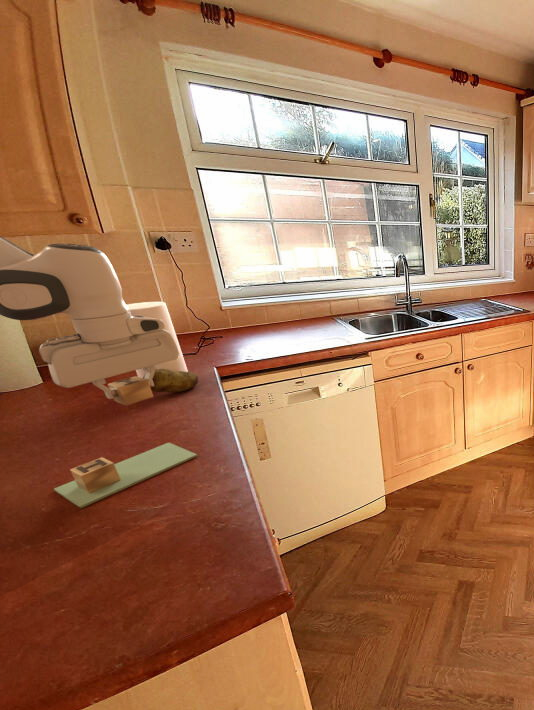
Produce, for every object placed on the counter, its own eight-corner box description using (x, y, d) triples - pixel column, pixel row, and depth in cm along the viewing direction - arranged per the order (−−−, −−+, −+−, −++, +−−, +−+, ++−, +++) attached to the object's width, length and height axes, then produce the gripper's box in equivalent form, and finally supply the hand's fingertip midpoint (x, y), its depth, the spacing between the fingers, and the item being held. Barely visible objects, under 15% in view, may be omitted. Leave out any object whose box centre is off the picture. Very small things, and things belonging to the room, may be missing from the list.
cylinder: (189, 372, 145) (165, 299, 136) (190, 383, 136) (164, 305, 126) (143, 381, 138) (114, 305, 129) (140, 392, 129) (109, 311, 119)
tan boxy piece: (125, 405, 87) (118, 387, 86) (114, 401, 89) (107, 383, 88) (153, 396, 91) (147, 379, 90) (142, 392, 93) (135, 375, 92)
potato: (202, 390, 130) (194, 365, 127) (149, 401, 122) (139, 376, 119) (199, 382, 136) (192, 359, 133) (148, 393, 128) (139, 368, 125)
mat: (80, 508, 78) (79, 506, 77) (54, 490, 83) (53, 488, 83) (197, 456, 94) (197, 454, 94) (169, 444, 99) (168, 442, 99)
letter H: (89, 493, 81) (80, 475, 79) (77, 486, 83) (69, 468, 82) (121, 479, 85) (113, 462, 83) (109, 473, 87) (101, 456, 86)
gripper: (41, 344, 74) (74, 414, 80) (171, 318, 91) (191, 378, 96) (27, 340, 77) (60, 408, 82) (156, 316, 94) (176, 374, 99)
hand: (131, 391), depth 90 cm, fingers closed on tan boxy piece, 5 cm apart
